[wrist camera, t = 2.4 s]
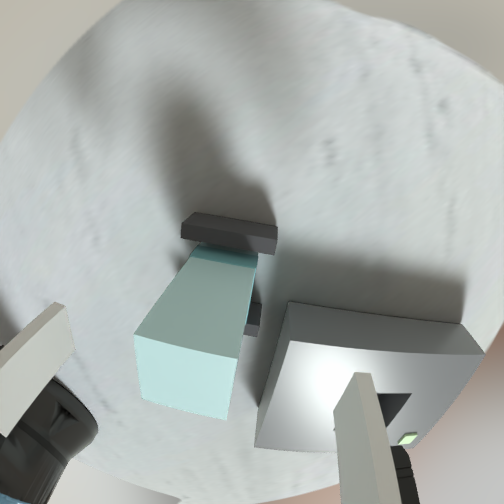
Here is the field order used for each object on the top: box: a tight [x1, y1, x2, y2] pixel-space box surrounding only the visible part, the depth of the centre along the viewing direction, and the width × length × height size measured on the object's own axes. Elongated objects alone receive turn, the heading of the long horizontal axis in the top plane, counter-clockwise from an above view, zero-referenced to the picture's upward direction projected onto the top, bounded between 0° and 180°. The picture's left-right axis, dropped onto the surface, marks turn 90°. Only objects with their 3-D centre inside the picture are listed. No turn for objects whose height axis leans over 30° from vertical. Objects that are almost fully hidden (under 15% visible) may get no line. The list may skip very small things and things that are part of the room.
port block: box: [254, 301, 486, 453], centre depth 22 cm, size 18×14×5 cm
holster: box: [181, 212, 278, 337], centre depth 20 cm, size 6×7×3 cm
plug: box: [134, 242, 258, 420], centre depth 16 cm, size 4×4×12 cm
